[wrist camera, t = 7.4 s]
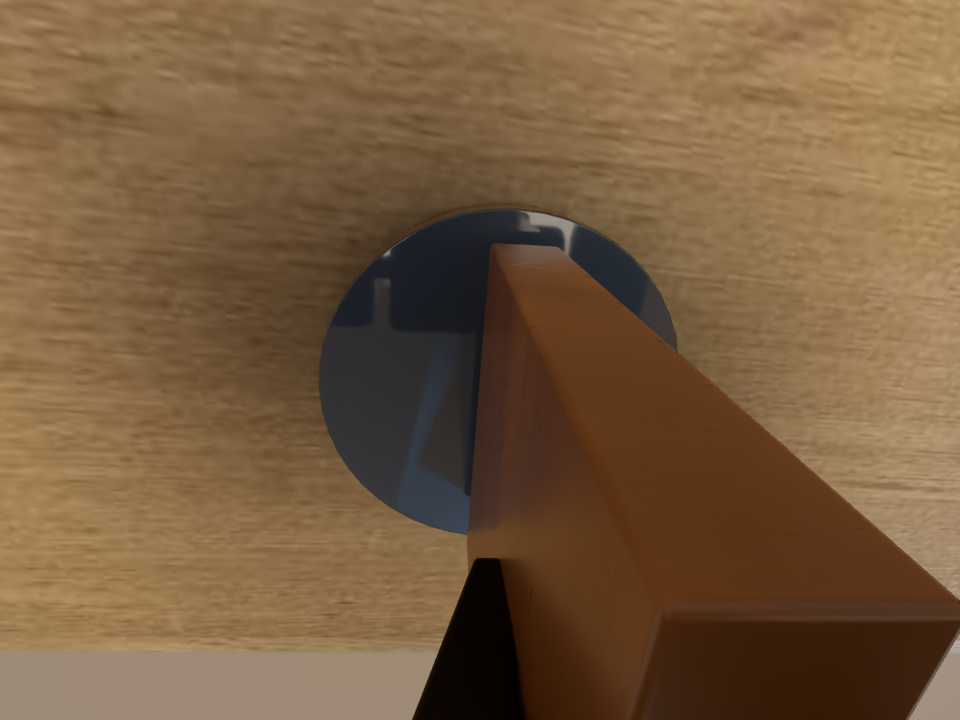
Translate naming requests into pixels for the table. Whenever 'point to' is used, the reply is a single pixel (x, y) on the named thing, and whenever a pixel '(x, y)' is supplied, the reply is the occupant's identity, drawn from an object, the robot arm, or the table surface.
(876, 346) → the table surface
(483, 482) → the brown wooden flat block
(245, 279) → the table surface
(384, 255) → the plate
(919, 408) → the table surface
